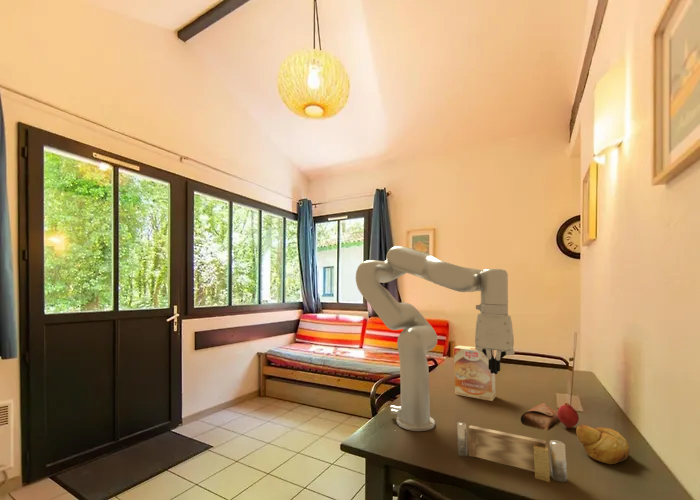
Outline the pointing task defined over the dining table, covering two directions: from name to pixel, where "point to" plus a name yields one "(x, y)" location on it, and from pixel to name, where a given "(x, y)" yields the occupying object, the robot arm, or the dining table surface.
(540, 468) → the slab and cylinder
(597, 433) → the bread roll
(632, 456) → the dining table surface
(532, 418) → the sunglasses case
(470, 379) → the coffeecake box
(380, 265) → the robot arm
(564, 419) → the red round fruit
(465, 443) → the hinge post
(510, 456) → the strip
